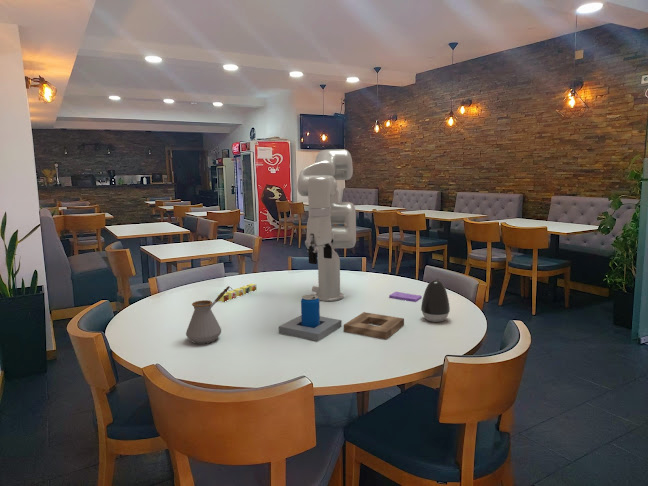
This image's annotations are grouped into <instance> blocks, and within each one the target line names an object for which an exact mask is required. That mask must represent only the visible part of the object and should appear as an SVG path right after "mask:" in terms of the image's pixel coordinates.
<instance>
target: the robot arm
mask: <svg viewBox="0 0 648 486" xmlns="http://www.w3.org/2000/svg"><path fill="white" fill-rule="evenodd" d="M352 159H353V158H352V155H351V153H350V151H348V150H347V149H344V148H340V149H323V150H320V151H319V152H318V153H316V156H315V160H314V163H313V164H311V165H308V166H306V167H304V168H302V170H300V172H299V175H298V179H297V182H296V183H297V184H296V188H297V193H298V194H299V195H300V196H301V197H307V199H308V204H307V205H308V218H307V223H306V240H305V241H304V245H305V249H306V250H307V251H306V252H307V253H308V263H309V265H310V264H311V265H317V274H318V276H317V277H318V279H317V280H318V282H317V283H318V286H315V285H313V286H312V288H311V292H316V294H315V295H317V296H318V298H319V301H324V302H335V301H340V300H343V299H344V296H345V295H344V293H343V292H341V261H340V259H341V258H340V256H339V254H338V253H337V252H336V251H335V249H351V248H354V247H355V246H356V243H357V214H356V212H357V211H356V207H355V205H354V203H352V202H350V201H339V200H340V199H339V196H340V195H339V190H338V181H349V180H350V179H351V178H352V177H353V174H354V173H353V172H354V167H353V160H352ZM334 224H335V225H334ZM340 224H341V225H342V226H339V225H340ZM336 225H337V226H336ZM343 225H344V226H343Z"/></svg>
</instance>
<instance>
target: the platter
mask: <svg viewBox="0 0 648 486" xmlns="http://www.w3.org/2000/svg"><path fill="white" fill-rule="evenodd" d="M255 290H256V291H257V290H258V288H257V283H248V284H246V285H243V286H240V287H239V288H234V289H232V291H231V290H230V291H229V290H227V292H225V294H224V295H223V296H222V297H221V298H220V299H219V300H218V301H217V302H219V301H222V302H221V303H226V302H228V301H227V300H229V301H230V300H234V299H237V298H236V297H237V296H240V297H242V296H244V295H247V294H246V293H248V294H249V292H250V293H251V291H253V292H256V291H255ZM243 293H244V294H243ZM219 295H220V293H219V294H217V297H218V296H219ZM241 295H242V296H241ZM233 298H234V299H233ZM225 301H226V302H225Z"/></svg>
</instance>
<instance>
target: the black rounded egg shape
mask: <svg viewBox="0 0 648 486" xmlns="http://www.w3.org/2000/svg"><path fill="white" fill-rule="evenodd" d="M446 289H447V288H446V286H445V285H444V283H443V282H442V281H441V280H439V278H436V279H433V280H431V281H429V283H428V284H427V285H426V288H425V290H424V294H423V295H422V296H423V298H422V300H421V307H420V311H421V312H422V315H423V317H424V318H425V319H426V320H427V321H429V322H432V323H441V322H444V321H445V320H446V319H447V317H448V316H449V314H450V310H451V309H450V307H451V306H450V300H449V297H448V292H447V290H446Z"/></svg>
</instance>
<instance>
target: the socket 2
mask: <svg viewBox="0 0 648 486" xmlns="http://www.w3.org/2000/svg"><path fill="white" fill-rule="evenodd" d="M404 326H405V318H403V317H396V316H392V315H384V314H379V313H373V312H365V311H364V312H362V313H360V314H359V315H357V316H356V317H353V318H352V319H351V320H349V321H347V322H345V323H344V324H343V332H345V333H350V334H353V335H354V334H355V335H360V336H365V337H372V338H378V339H382V340H388V339H389V338H390V337H391V336H393V335H394V334H395V333H396V332H398V331H399V330H401V328H402V327H404Z"/></svg>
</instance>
